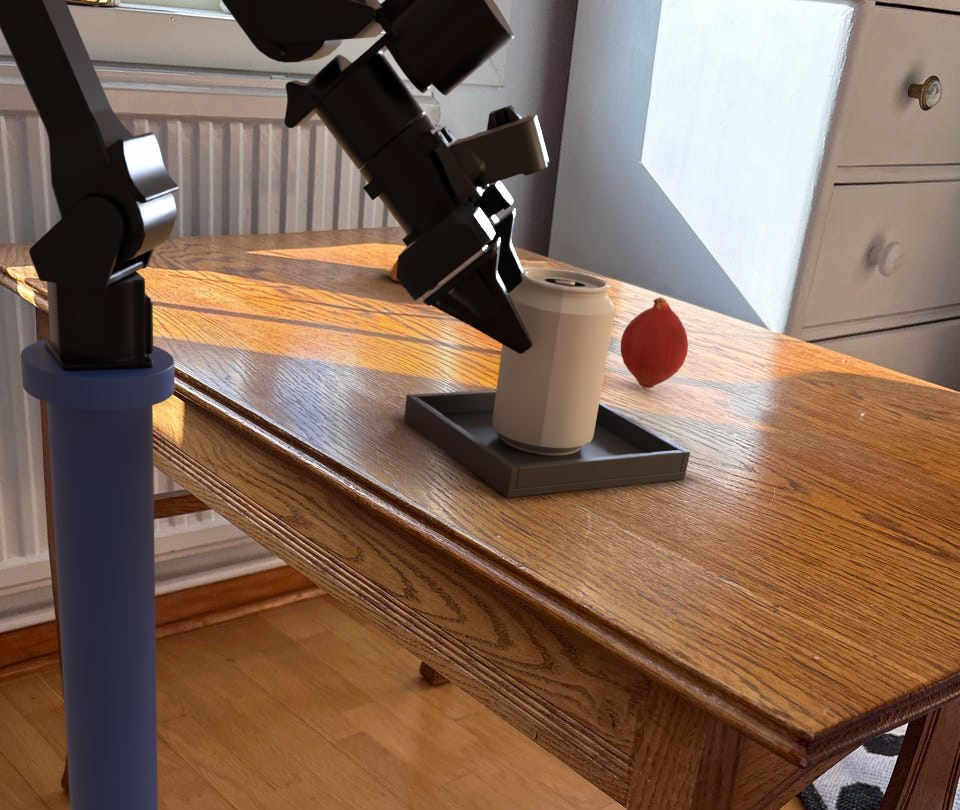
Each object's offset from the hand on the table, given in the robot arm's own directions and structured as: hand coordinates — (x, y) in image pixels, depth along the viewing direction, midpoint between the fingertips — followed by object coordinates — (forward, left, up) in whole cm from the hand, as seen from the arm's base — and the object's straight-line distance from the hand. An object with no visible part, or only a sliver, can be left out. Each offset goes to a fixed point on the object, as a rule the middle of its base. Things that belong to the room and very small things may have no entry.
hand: (531, 333), depth 83 cm
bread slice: (+25, +46, -9) cm, 53 cm away
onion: (+21, +11, -9) cm, 25 cm away
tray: (+2, -1, -8) cm, 9 cm away
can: (+1, -1, -8) cm, 8 cm away
